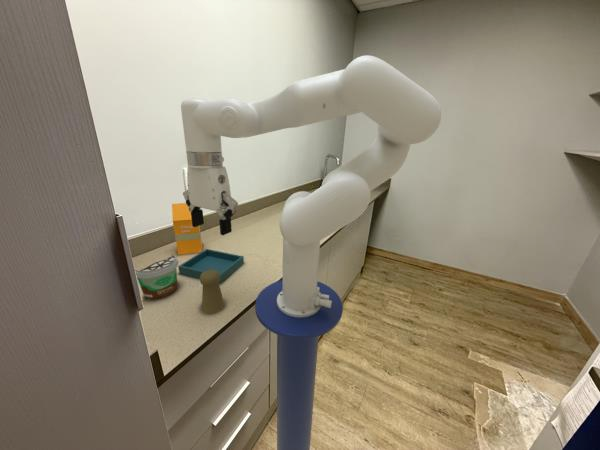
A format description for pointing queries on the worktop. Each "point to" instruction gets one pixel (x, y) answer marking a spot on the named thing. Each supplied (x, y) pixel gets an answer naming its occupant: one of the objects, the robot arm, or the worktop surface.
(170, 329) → the worktop surface
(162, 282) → the food container
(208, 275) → the olive tapered rounded piece
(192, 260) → the tray
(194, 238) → the orange juice
